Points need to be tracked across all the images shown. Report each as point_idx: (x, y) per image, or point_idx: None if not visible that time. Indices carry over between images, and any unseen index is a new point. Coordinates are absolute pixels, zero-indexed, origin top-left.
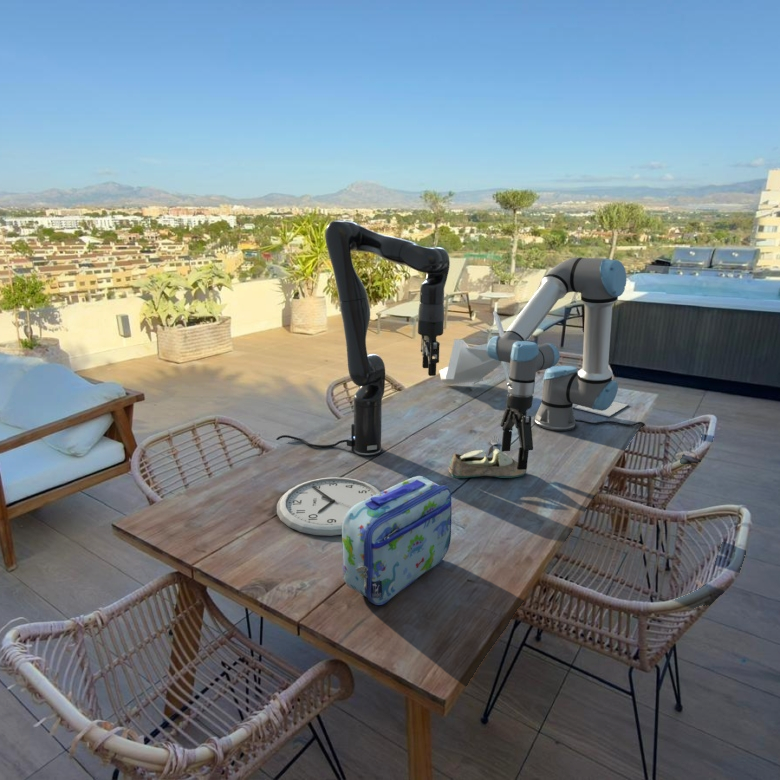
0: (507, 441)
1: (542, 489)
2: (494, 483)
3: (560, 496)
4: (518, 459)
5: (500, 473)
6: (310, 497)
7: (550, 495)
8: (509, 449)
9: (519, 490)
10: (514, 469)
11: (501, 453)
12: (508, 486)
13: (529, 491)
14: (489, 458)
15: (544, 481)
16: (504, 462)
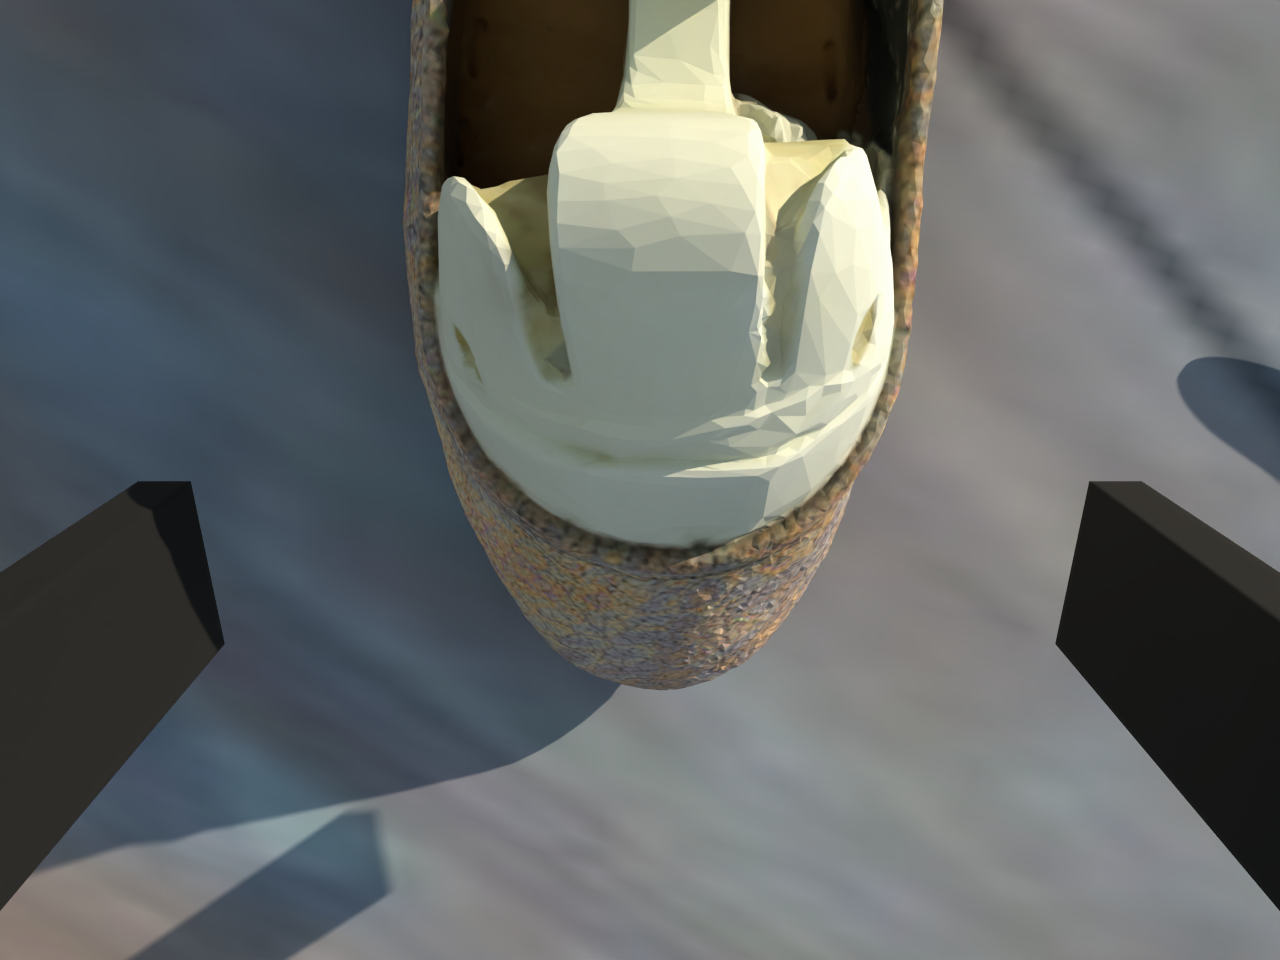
0: (1212, 715)
1: None
2: (345, 50)
3: None
4: (14, 587)
5: (406, 188)
6: None
7: None
8: (1075, 649)
9: (130, 378)
10: (475, 483)
11: (560, 297)
12: (247, 258)
13: None
14: (904, 97)
15: (407, 776)
16: (444, 312)
